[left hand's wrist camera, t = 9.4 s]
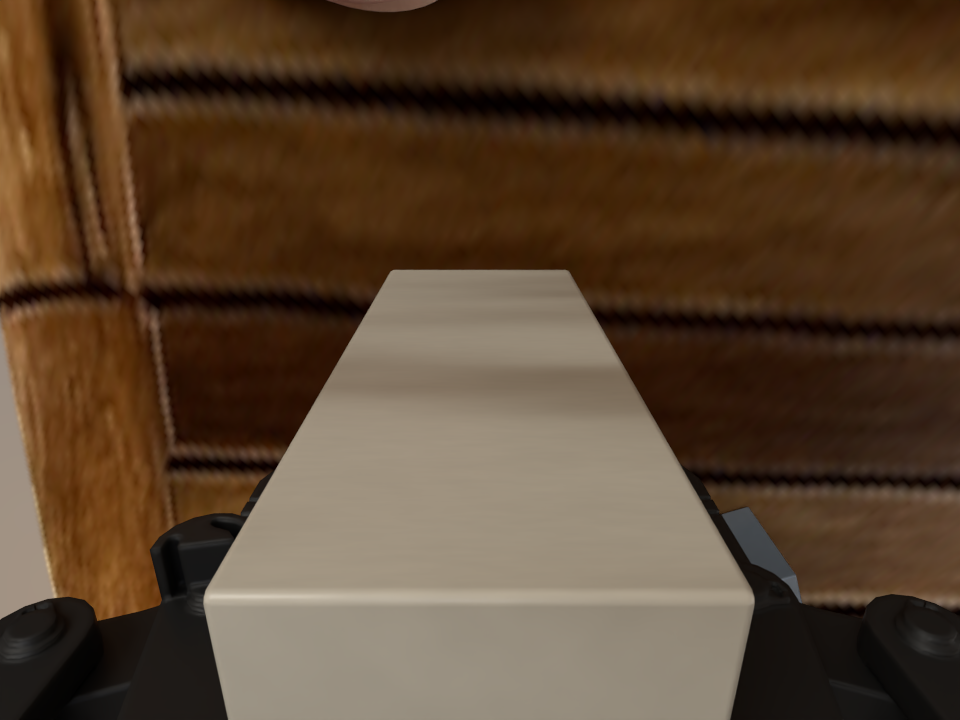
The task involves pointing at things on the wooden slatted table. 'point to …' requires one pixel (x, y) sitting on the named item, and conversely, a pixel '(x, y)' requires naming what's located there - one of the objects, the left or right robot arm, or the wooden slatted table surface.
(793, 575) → the slate cube
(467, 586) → the ash block
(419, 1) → the anatomical model
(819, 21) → the wooden slatted table surface
